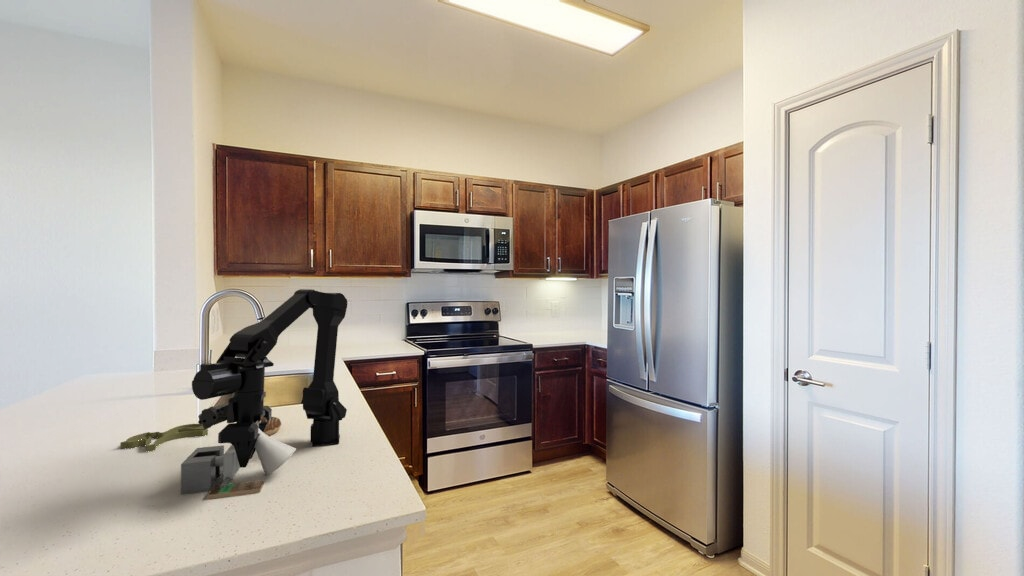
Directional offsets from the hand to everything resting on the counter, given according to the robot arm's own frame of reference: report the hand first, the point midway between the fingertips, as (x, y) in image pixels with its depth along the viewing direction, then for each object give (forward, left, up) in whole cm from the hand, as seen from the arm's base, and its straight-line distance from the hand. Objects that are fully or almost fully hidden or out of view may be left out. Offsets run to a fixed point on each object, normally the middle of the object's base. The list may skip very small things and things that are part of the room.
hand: (246, 463), depth 92 cm
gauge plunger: (+4, +1, -2) cm, 5 cm away
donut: (+3, -32, -4) cm, 32 cm away
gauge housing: (+3, +1, -3) cm, 5 cm away
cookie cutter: (+25, -34, -4) cm, 42 cm away
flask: (-7, 0, -1) cm, 7 cm away
